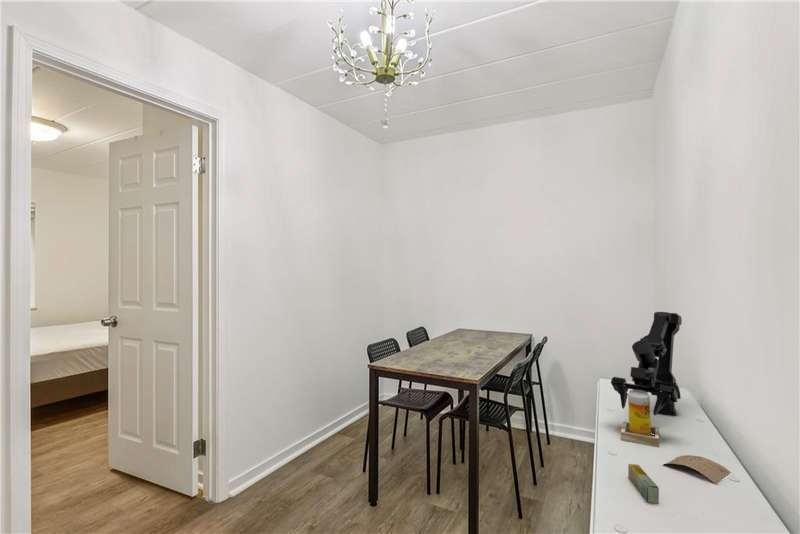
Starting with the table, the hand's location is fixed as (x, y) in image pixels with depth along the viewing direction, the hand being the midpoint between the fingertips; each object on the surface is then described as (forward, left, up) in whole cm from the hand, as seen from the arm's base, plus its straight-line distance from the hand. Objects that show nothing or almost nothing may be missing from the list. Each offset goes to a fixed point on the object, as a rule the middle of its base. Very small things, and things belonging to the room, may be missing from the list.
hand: (638, 411), depth 129 cm
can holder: (-1, 0, -9) cm, 9 cm away
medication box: (+34, +2, -9) cm, 35 cm away
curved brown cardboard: (+15, +14, -10) cm, 23 cm away
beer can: (-1, 0, -9) cm, 9 cm away
